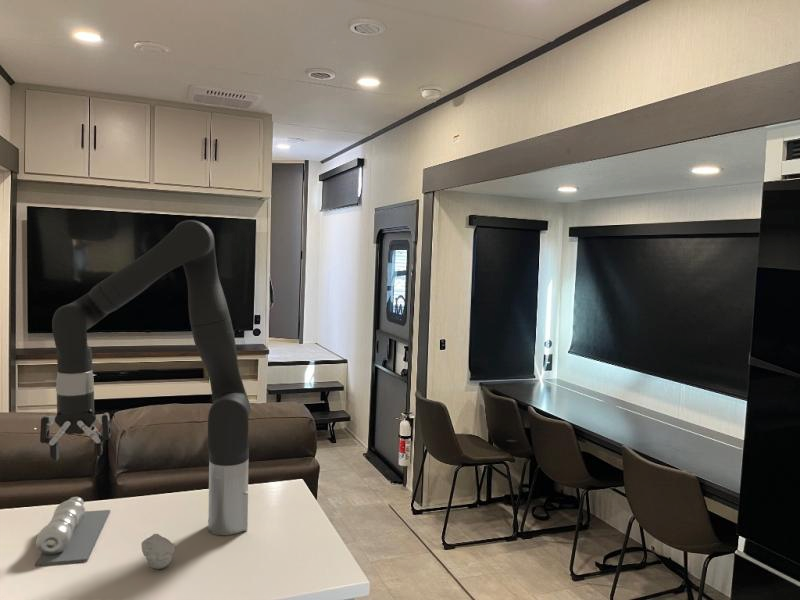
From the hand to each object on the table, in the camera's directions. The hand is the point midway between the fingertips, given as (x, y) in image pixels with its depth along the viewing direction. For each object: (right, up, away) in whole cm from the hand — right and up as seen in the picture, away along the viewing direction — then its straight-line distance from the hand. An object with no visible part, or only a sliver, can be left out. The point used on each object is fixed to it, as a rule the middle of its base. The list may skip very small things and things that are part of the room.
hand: (76, 458), depth 139 cm
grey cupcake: (+23, -21, -10) cm, 33 cm away
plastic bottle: (0, -16, -10) cm, 19 cm away
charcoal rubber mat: (-1, -18, +1) cm, 18 cm away
